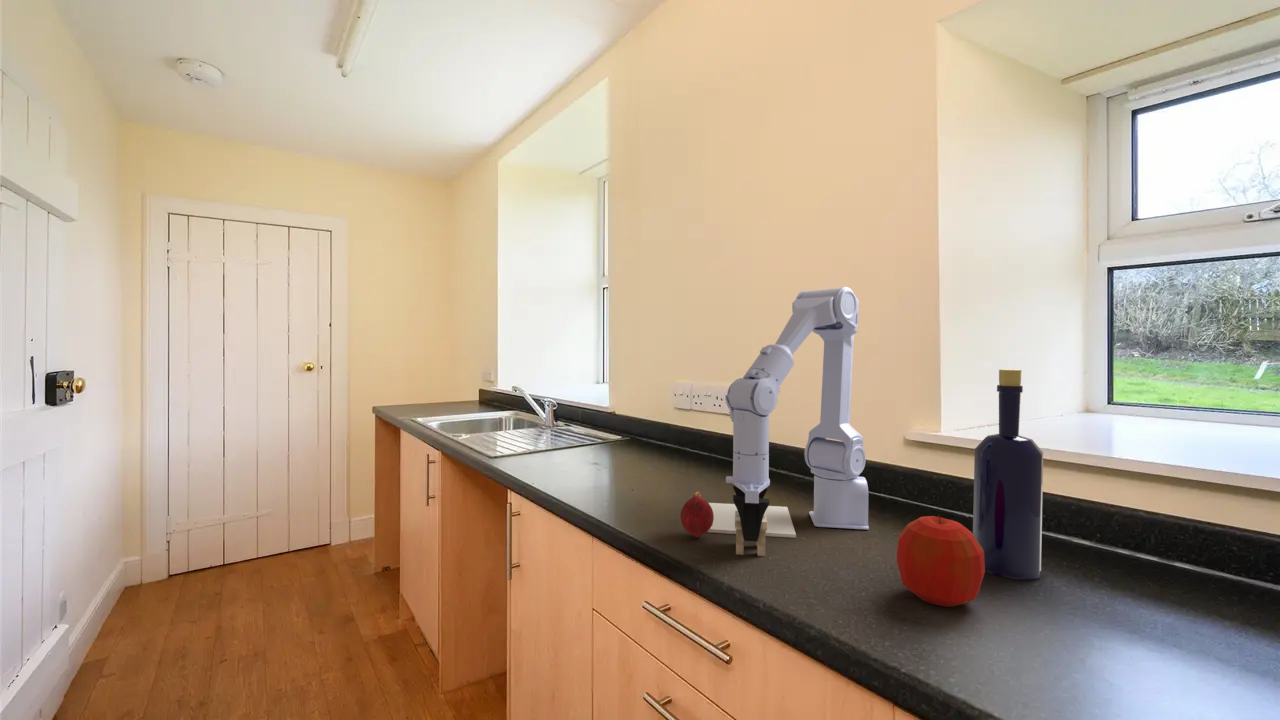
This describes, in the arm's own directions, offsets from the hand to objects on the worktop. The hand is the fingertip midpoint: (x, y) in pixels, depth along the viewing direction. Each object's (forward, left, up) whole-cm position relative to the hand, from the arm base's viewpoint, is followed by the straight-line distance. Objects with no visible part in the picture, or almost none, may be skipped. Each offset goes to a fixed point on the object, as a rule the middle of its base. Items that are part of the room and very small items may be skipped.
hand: (750, 534), depth 88 cm
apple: (-24, +13, -3) cm, 27 cm away
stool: (0, 0, -3) cm, 3 cm away
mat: (0, -15, -3) cm, 15 cm away
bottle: (-38, 0, -3) cm, 38 cm away
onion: (+9, -4, -3) cm, 10 cm away
